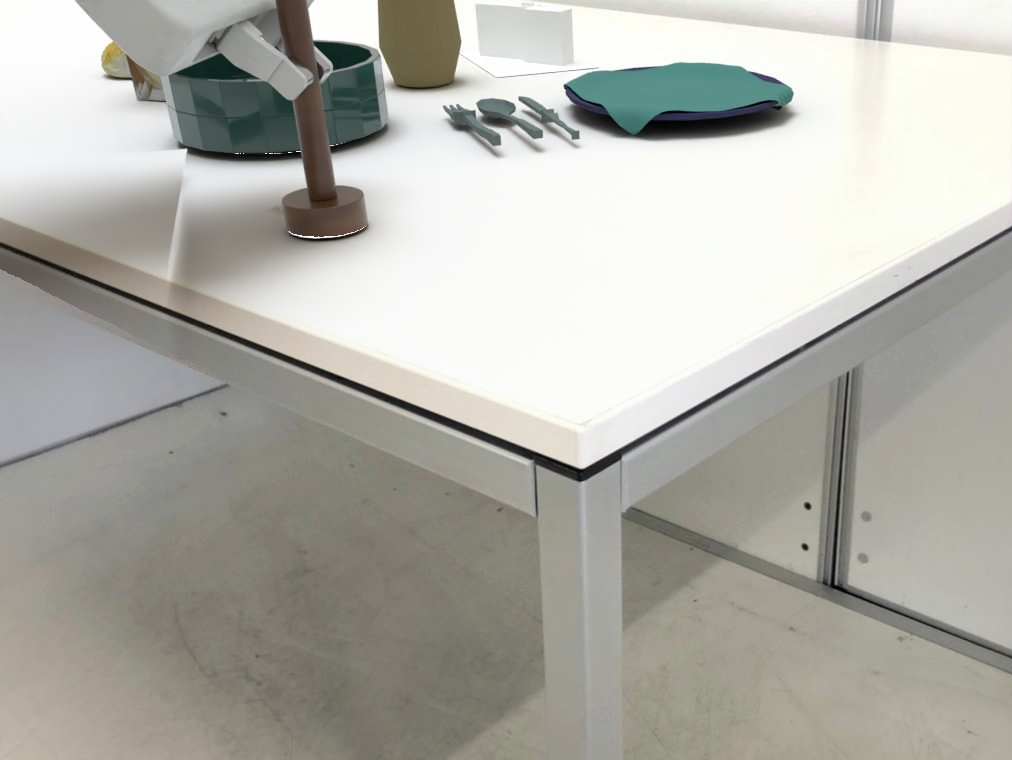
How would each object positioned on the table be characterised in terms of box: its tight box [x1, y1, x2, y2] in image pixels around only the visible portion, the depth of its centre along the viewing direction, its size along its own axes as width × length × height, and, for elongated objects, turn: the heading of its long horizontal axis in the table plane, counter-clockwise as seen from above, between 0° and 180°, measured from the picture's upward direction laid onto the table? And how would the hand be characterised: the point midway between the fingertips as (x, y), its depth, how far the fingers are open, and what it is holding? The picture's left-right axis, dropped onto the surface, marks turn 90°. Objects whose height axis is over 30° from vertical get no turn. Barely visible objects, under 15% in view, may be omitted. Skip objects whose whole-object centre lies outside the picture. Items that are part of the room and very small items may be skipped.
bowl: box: [160, 39, 390, 154], centre depth 93 cm, size 17×17×6 cm
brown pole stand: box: [275, 0, 369, 237], centre depth 69 cm, size 5×5×16 cm
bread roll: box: [100, 40, 132, 79], centre depth 117 cm, size 8×9×4 cm
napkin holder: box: [459, 0, 599, 78], centre depth 119 cm, size 15×11×6 cm
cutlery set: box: [442, 61, 795, 147], centre depth 98 cm, size 20×30×2 cm, turn 113°
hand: (314, 84), depth 68 cm, fingers closed on brown pole stand
